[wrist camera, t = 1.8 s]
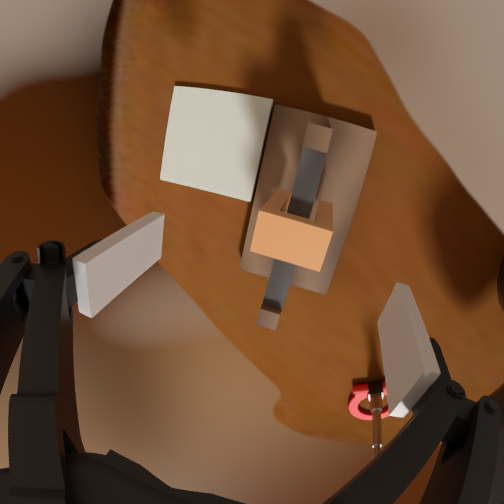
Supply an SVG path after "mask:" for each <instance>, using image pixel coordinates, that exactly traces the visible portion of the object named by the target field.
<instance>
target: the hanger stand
mask: <svg viewBox="0 0 504 504" xmlns="http://www.w3.org/2000/svg"><path fill="white" fill-rule="evenodd" d="M376 136H377V132H376V131H373V130H370V129H367V128H364V127H361V126H358V125H355V124H351V123H348V122H345V121H341V120H338V119H334V118H330V117H327V116H323V115H319V114H315V113H311V112H307V111H303V110H299V109H295V108H290V107H286V106H281V105H277V104H275V106H274V111H273V115H272V120H271V124H270V129H269V133H268V138H267V143H266V147H265V152H264V156H263V161H262V165H261V170H260V175H259V179H258V184H257V188H256V193H255V198H254V202H253V207H252V212H251V216H250V221H249V226H248V230H247V235H246V240H245V245H244V249H243V254H242V259H241V263H240V268H239V269H242V270H245V271H248V272H251V273H254V274H258V275H261V276H264V277H267V278H269V282H268V286H267V289H266V293H265V297H264V300H263V304H262V306H261V309H260V312H259V316H258V320H257V323H256V324H257V325H260V326H263V327H266V328H269V329H273V330H275V329H276V326H277V323H278V320H279V317H280V314H281V311H282V308H283V305H284V301H285V298H286V295H287V292H288V289H289V286H290V284H291V285H294V286H297V287H301V288H304V289H307V290H311V291H314V292H317V293H321V294H324V295H326V293H327V290H328V287H329V285H330V282H331V279H332V277H333V274H334V271H335V268H336V266H337V263H338V260H339V257H340V254H341V252H342V249H343V246H344V243H345V240H346V237H347V234H348V231H349V228H350V225H351V222H352V219H353V216H354V213H355V209H356V206H357V203H358V200H359V197H360V193H361V190H362V187H363V183H364V180H365V176H366V173H367V169H368V166H369V162H370V159H371V155H372V151H373V147H374V144H375V140H376ZM279 188H280V189H284V190H288V191H291V192H292V194H291V198H290V201H289V205H288V209H287V213H290V214H293V215H297V216H300V217H304V218H307V219H310V220H314V219H315V215H316V212H317V208H318V205H319V201H320V200H323V201H326V202H330V203H333V234H332V237H331V240H330V243H329V246H328V249H327V252H326V255H325V258H324V261H323V264H322V267H321V270H320V272H318V271H315V270H311V269H308V268H305V267H301V266H298V265H295V264H291V263H288V262H285V261H281V260H278V259H275V258H271V257H268V256H265V255H261V254H258V253H255V252H251V251H250V248H251V244H252V239H253V235H254V230H255V226H256V221H257V217H258V212H259V210H260V209H261V208H262V206H263V205H264V204H265V203H266V202H267V201H268V200H269V199H270V198H271V197H272V195H273V194H274V193H275V192H276V191H277V190H278V189H279Z"/></svg>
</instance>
